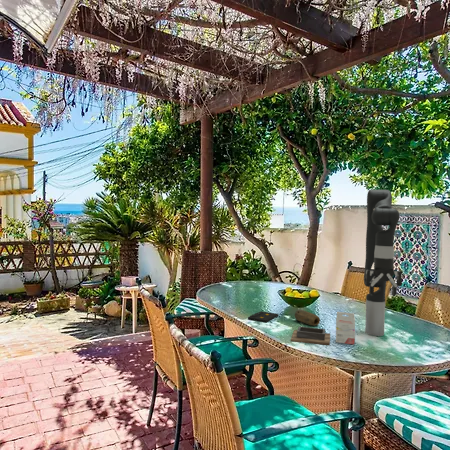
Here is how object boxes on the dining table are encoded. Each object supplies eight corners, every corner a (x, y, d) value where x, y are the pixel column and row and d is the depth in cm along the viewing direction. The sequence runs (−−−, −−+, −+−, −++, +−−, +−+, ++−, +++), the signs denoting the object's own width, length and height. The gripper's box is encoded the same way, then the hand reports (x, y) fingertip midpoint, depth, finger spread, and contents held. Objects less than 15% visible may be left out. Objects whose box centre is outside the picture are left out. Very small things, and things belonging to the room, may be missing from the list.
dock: (294, 331, 202) (294, 324, 201) (330, 335, 197) (330, 327, 197) (290, 341, 186) (291, 332, 186) (329, 345, 181) (330, 336, 181)
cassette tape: (261, 314, 239) (261, 310, 239) (278, 317, 233) (278, 313, 233) (247, 320, 223) (247, 316, 223) (266, 323, 218) (266, 319, 217)
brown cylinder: (292, 321, 222) (292, 309, 222) (300, 319, 226) (301, 308, 226) (313, 327, 210) (313, 315, 210) (321, 325, 215) (321, 313, 214)
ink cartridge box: (354, 341, 188) (355, 311, 187) (354, 344, 183) (355, 313, 183) (336, 339, 191) (337, 309, 191) (335, 342, 186) (336, 311, 186)
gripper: (398, 256, 164) (397, 294, 165) (364, 255, 166) (362, 292, 166) (405, 258, 157) (403, 298, 158) (368, 257, 158) (367, 296, 159)
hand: (382, 295), depth 162 cm, fingers open, 8 cm apart
